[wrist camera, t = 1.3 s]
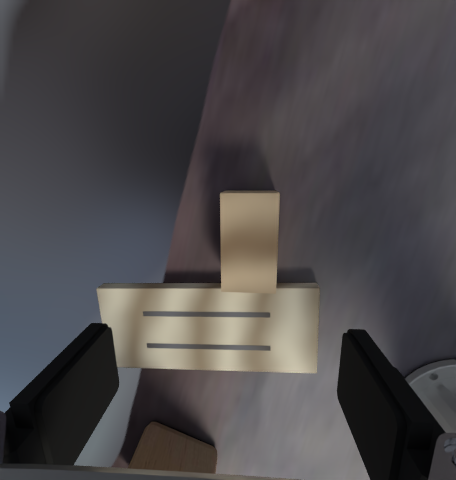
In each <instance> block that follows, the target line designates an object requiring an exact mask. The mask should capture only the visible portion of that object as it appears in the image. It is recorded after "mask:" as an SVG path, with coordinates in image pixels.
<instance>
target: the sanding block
mask: <svg viewBox="0 0 456 480" xmlns="http://www.w3.org/2000/svg"><path fill="white" fill-rule="evenodd" d="M279 202H280V193H279V192H277V191H276V190H226V191H223V192H221V193H220V232H221V292H240V293H270V294H276V281H277V255H278V228H279Z"/></svg>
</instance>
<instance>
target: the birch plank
mask: <svg viewBox="0 0 456 480" xmlns="http://www.w3.org/2000/svg"><path fill="white" fill-rule="evenodd" d="M97 294H98V301H99V307H100V313H101V319H102V323H106V324H107V325H108V327H111V329H112V333H113V341H114V348H115V355H116V362H117V367H126V368H158V369H191V370H224V371H257V372H290V373H317V350H318V324H319V298H320V288H319V286H318V284H317V283H276V294H270V293H240V292H221V283H104V284H102V285H101V286H99V287H98V288H97Z"/></svg>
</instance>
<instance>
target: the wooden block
mask: <svg viewBox="0 0 456 480" xmlns="http://www.w3.org/2000/svg"><path fill="white" fill-rule="evenodd" d="M216 465H217V450H216V449H215V448H214V447H213V446H211V445H209V444H206V443H204V442H202V441H199V440H197V439H195V438H192V437H190V436H188V435H185V434H183V433H181V432H178V431H176V430H174V429H171V428H169V427H167V426H164V425H162V424H160V423H157V422H151V423H150V424H149V425H148V426H147V427H146V428H145V430H144V432H143V434H142V436H141V439H140V441H139V443H138V446H137V448H136V450H135V453H134V455H133V457H132V460H131V462H130V464H129V466H128V469H146V470H162V471H179V472H195V473H210V474H215V472H216Z"/></svg>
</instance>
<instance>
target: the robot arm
mask: <svg viewBox="0 0 456 480" xmlns="http://www.w3.org/2000/svg"><path fill="white" fill-rule="evenodd" d="M118 387H119V377H118V370H117V362H116V355H115V348H114V341H113V333H112V329H111V327H108V325H107V324H106V323H91V324H90V325H89V326H88V327H87V328H86V329H85V330H84V331H83V332H82V333H81V334H80V335H79V336H78V337H77V338H75V339H74V340H73V341H72V342H71V343H70V344H69V345H68V346H67V347H66V348H65V349H64V350H63V351H62V352H61V353H60V354H59V355H58V356H57V357H56V358H55V359H54V360H53V361H52V362H51V363H50V364H49V365H48V366H47V367H46V368H45V369H44V370H43V371H42V372H41V373H40V374H38V375H37V376H36V377H35V378H34V379H33V380H32V382H30V383H29V384H28V385H27V386H26V387H25V388H24V389H23V390H22V391H21V392H20V393H19V394H18V395H17V396H16V397H15V398H14V399H13V400H12V401H11V402H10V403H9V404H10V408H9V409H8V410H7V411H6V412H5V413H3V412H2V411H0V480H299V479H285V478H271V477H256V476H242V475H226V474H210V473H195V472H179V471H162V470H146V469H128V468H111V467H92V466H75V465H74V463H75V462H76V460H77V458H78V457H79V455H80V453H81V451H82V450H83V448H84V446H85V444H86V443H87V441H88V440H89V438H90V436H91V434H92V433H93V431H94V429H95V428H96V426H97V424H98V423H99V421H100V419H101V418H102V416H103V414H104V413H105V411H106V409H107V407H108V406H109V404H110V402H111V401H112V399H113V397H114V396H115V394H116V392H117V390H118ZM337 395H338V400H339V403H340V405H341V408H342V410H343V413H344V415H345V418H346V420H347V423H348V425H349V428H350V430H351V433H352V435H353V438H354V440H355V443H356V445H357V448H358V450H359V452H360V455H361V457H362V460H363V462H364V465H365V467H366V470H367V472H368V475H369V477H370V480H456V360H455V359H451V360H443V361H438V362H434V363H431V364H428V365H425V366H423V367H421V368H419V369H417V370H416V371H414V372H413V373H411V374H410V375H408V376H407V377H406V378H404V377H403V376H402V375H401V373H400V372H399V371H398V370H397V369H396V368H395V367H393V366H392V365H391V364H390V362H389V361H388V360H387V358H386V357H385V356H384V354H383V353H382V352H381V350H380V349H379V348H378V346H377V345H376V344H375V342H374V341H373V340H372V338H371V337H370V336H369V334H368V333H367V332H366V331H365V330H360V329H349V330H348V332H347V333H344V334H343V337H342V347H341V357H340V367H339V377H338V386H337Z"/></svg>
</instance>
